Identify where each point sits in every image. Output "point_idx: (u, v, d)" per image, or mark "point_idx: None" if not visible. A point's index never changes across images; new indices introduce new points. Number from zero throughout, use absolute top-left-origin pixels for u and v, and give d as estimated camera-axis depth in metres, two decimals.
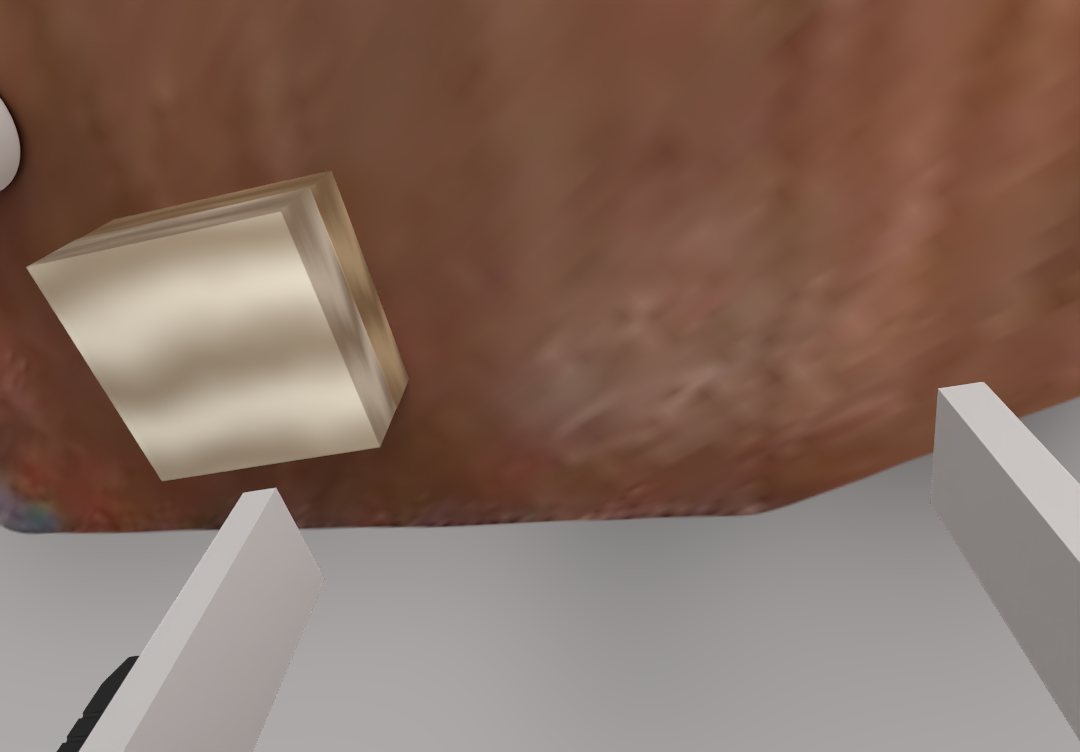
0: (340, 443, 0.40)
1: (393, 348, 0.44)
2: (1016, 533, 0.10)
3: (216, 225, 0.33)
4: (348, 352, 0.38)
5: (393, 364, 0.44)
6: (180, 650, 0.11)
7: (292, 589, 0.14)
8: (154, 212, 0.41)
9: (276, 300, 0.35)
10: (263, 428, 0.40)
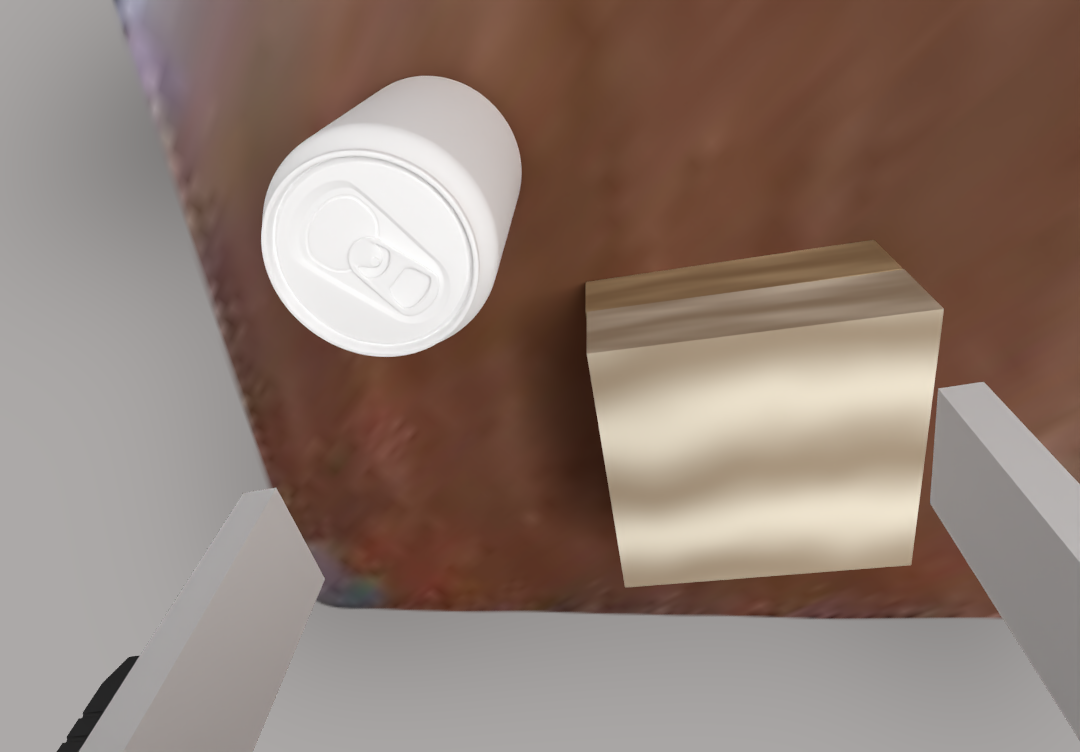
0: (865, 559, 0.34)
1: None
2: (1015, 533, 0.10)
3: (851, 320, 0.28)
4: None
5: None
6: (180, 650, 0.11)
7: (292, 589, 0.14)
8: (648, 278, 0.35)
9: (879, 405, 0.30)
10: (780, 539, 0.34)
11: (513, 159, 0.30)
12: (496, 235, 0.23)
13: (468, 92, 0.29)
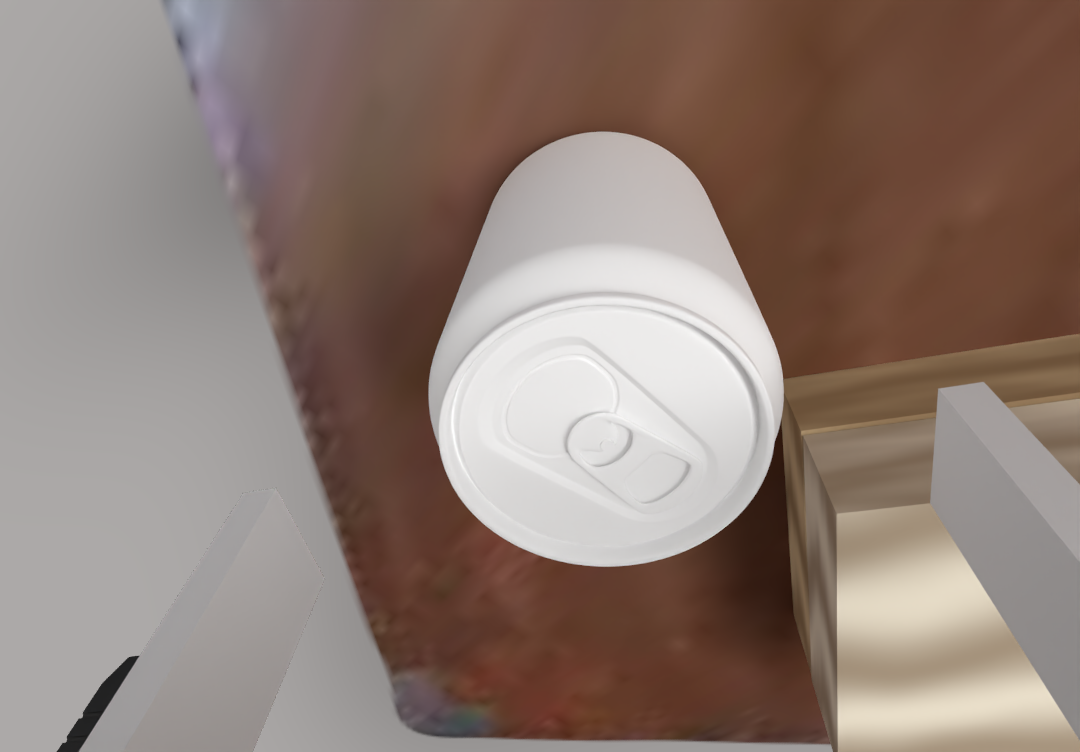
0: None
1: None
2: (1015, 533, 0.10)
3: None
4: None
5: None
6: (180, 650, 0.11)
7: (292, 589, 0.14)
8: (867, 374, 0.27)
9: None
10: (1058, 718, 0.26)
11: None
12: None
13: (663, 154, 0.21)
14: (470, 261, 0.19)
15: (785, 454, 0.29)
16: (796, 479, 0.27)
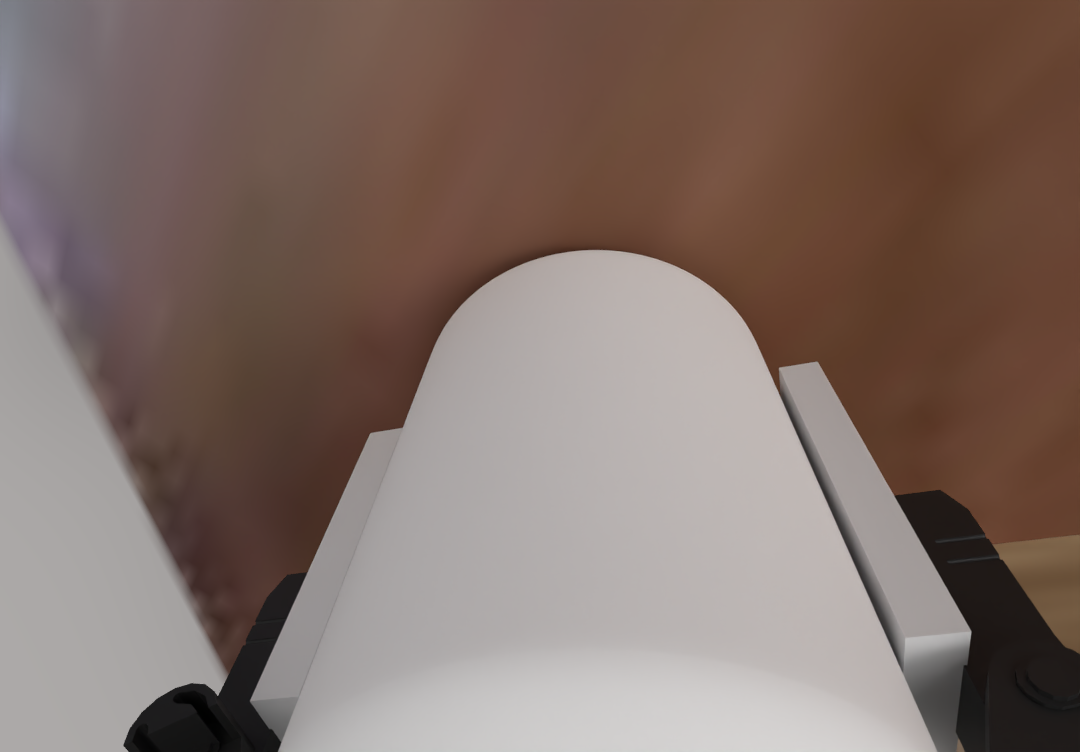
0: None
1: None
2: None
3: None
4: None
5: None
6: (347, 562, 0.12)
7: None
8: None
9: None
10: None
11: None
12: None
13: (692, 292, 0.14)
14: (372, 508, 0.11)
15: None
16: None
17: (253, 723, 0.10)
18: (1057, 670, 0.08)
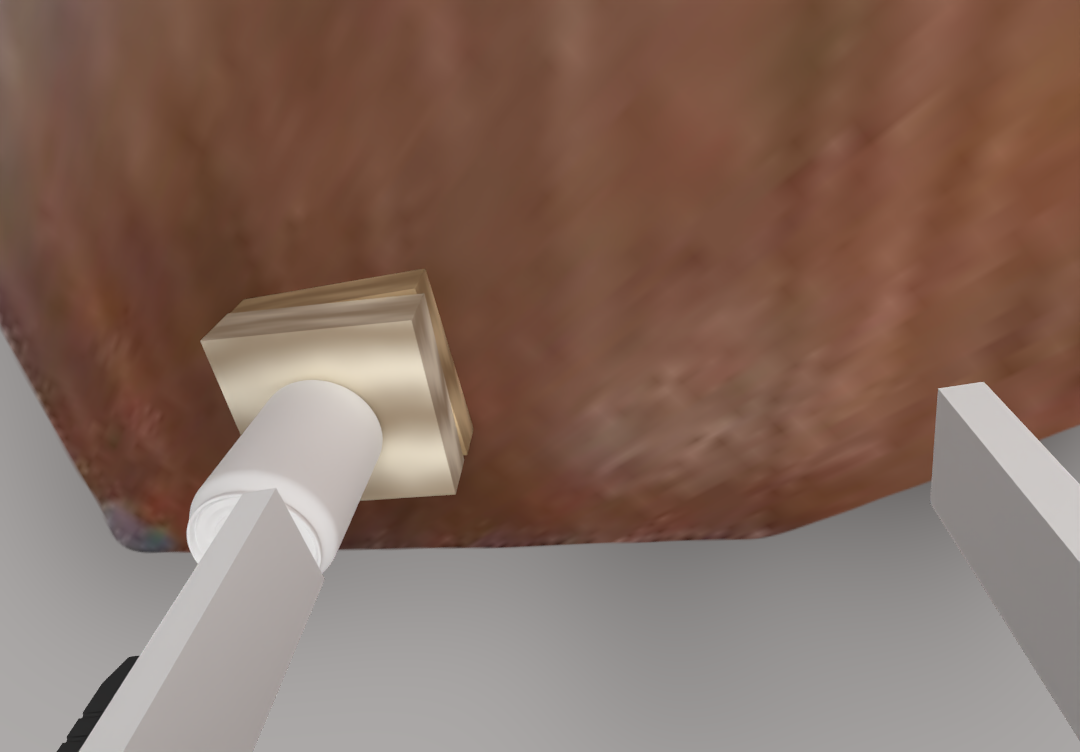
0: (424, 489, 0.50)
1: (464, 404, 0.54)
2: (1016, 533, 0.10)
3: (358, 325, 0.44)
4: (441, 421, 0.48)
5: (464, 418, 0.54)
6: (180, 650, 0.11)
7: (292, 589, 0.14)
8: (280, 296, 0.50)
9: (394, 381, 0.45)
10: None
11: (371, 445, 0.44)
12: (336, 533, 0.38)
13: (345, 399, 0.44)
14: None
15: None
16: None
17: None
18: None
